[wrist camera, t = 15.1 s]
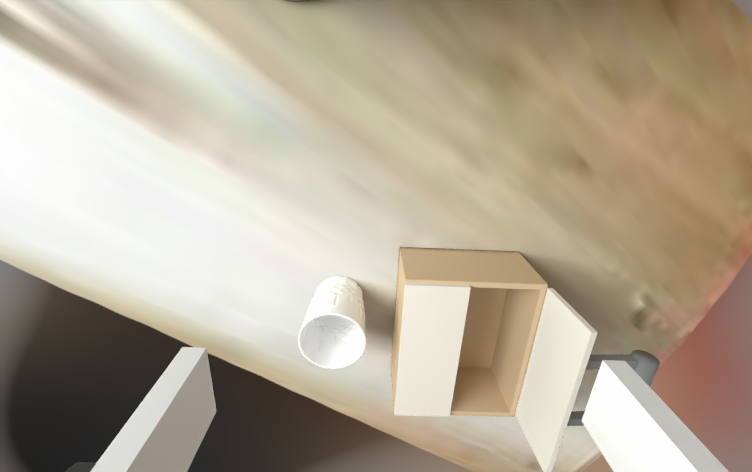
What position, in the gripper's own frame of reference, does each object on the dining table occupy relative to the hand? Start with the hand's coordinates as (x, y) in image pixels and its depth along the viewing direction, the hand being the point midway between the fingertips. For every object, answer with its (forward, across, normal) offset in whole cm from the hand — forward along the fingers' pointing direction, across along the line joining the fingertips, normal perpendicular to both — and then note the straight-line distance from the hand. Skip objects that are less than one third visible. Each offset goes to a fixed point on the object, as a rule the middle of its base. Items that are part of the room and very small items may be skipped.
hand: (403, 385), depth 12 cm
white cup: (+35, -5, -18) cm, 40 cm away
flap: (+22, +19, -20) cm, 35 cm away
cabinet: (+35, +11, -20) cm, 42 cm away
